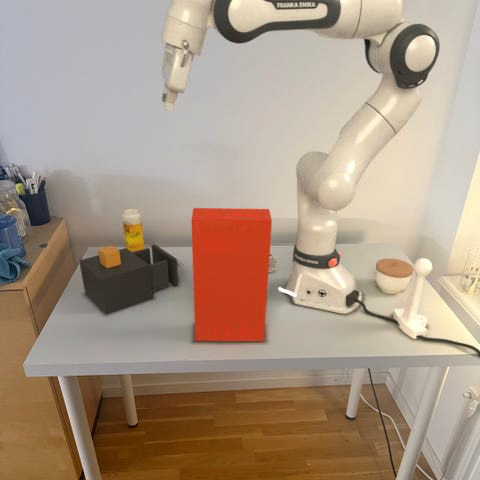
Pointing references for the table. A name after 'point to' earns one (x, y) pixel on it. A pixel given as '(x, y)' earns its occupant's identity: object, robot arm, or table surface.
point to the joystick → (414, 303)
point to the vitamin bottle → (133, 230)
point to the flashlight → (272, 263)
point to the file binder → (230, 273)
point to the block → (109, 256)
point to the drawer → (160, 267)
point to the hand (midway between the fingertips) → (166, 106)
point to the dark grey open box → (116, 282)
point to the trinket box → (392, 275)
